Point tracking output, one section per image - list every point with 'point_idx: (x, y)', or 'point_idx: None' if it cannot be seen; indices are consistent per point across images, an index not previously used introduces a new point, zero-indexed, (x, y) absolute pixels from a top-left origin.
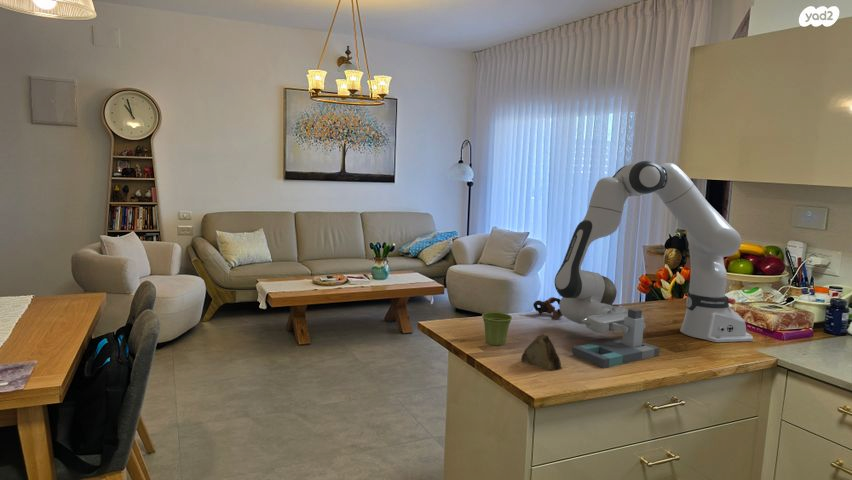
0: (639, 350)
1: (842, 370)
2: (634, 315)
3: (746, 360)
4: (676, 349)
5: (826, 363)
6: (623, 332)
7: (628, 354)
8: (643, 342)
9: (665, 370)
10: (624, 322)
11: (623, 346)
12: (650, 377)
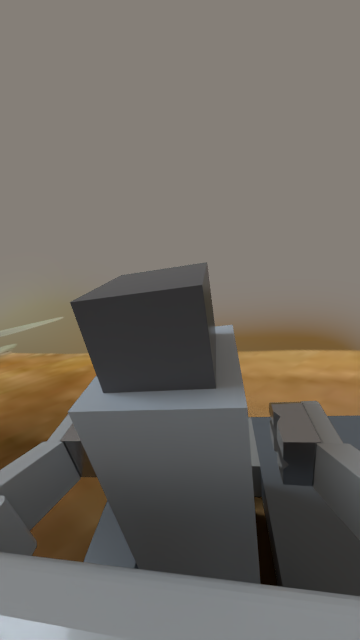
0: (256, 429)
1: (30, 324)
2: (212, 309)
3: (42, 358)
4: (14, 460)
5: (4, 334)
6: (256, 547)
7: (356, 416)
8: (105, 510)
9: (253, 368)
10: (250, 467)
11: (310, 524)
12: (335, 354)
